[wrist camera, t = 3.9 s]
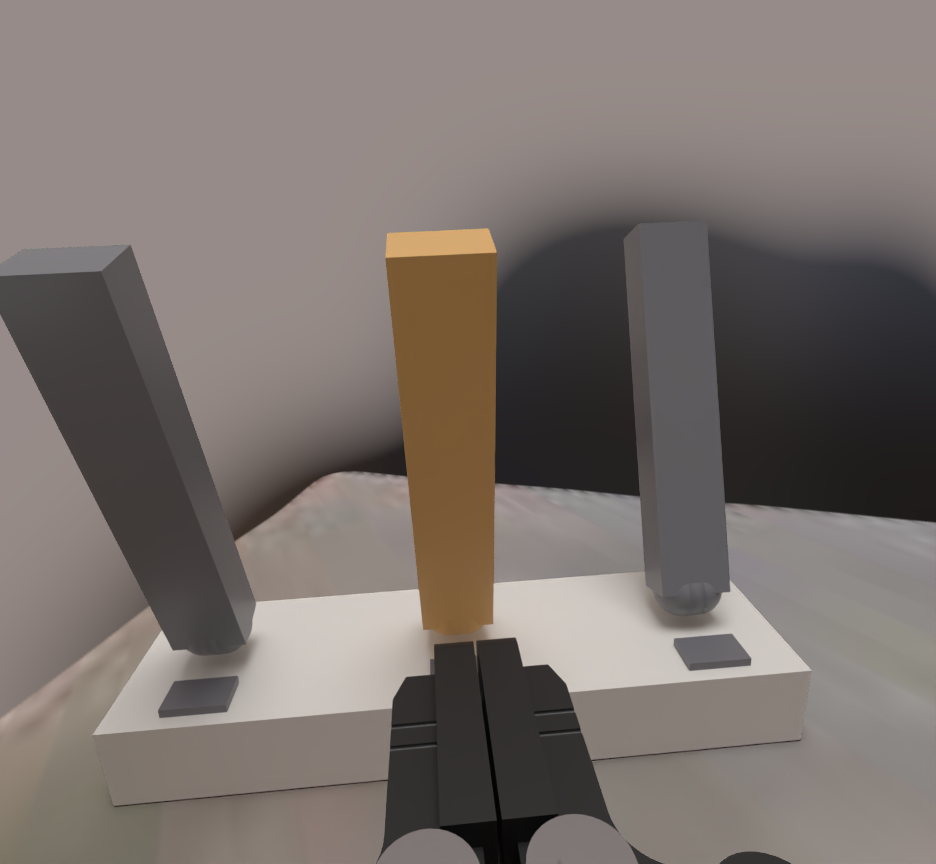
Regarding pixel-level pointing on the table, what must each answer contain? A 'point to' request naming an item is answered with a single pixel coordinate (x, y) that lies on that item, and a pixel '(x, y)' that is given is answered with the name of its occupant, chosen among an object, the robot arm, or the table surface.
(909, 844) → the table surface
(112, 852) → the table surface
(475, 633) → the lever base
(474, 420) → the lever middle
